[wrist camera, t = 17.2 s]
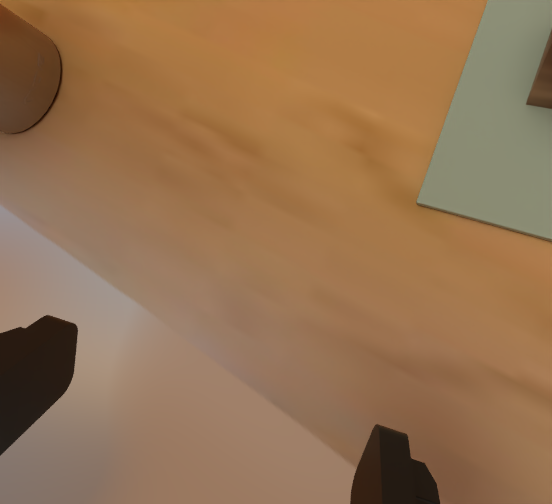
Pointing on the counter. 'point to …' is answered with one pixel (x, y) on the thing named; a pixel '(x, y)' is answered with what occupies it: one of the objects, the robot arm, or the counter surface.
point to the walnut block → (543, 80)
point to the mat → (498, 127)
